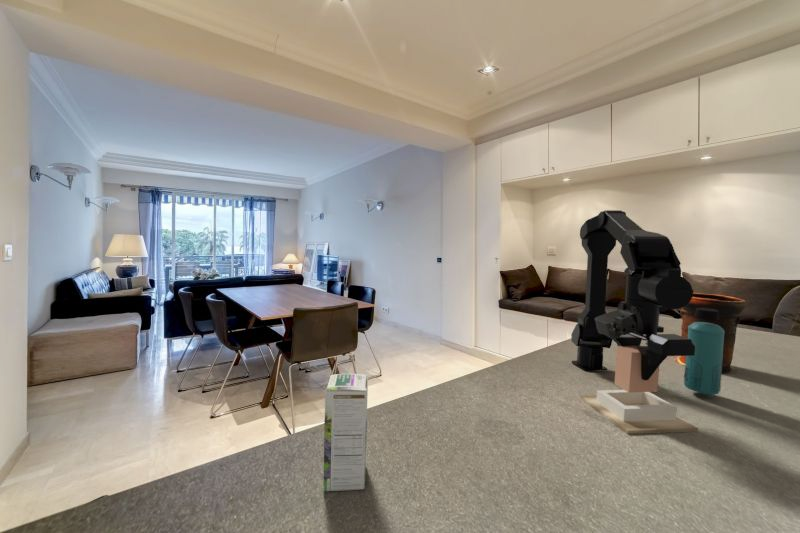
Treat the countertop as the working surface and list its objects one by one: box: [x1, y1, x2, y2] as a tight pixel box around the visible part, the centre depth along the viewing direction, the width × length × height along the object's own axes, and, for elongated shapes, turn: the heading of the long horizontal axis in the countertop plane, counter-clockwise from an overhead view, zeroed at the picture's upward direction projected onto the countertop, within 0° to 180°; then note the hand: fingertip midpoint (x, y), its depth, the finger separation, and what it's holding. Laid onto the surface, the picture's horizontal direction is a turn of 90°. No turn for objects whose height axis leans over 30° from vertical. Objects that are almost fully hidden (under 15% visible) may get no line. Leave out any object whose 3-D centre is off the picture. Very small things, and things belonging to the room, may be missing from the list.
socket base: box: [580, 394, 699, 435], centre depth 71 cm, size 14×14×1 cm
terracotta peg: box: [613, 345, 660, 393], centre depth 70 cm, size 6×4×8 cm, turn 95°
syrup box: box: [323, 373, 369, 492], centre depth 50 cm, size 6×6×14 cm
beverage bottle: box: [683, 308, 725, 396], centre depth 79 cm, size 6×7×20 cm
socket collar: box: [596, 389, 678, 422], centre depth 70 cm, size 8×11×2 cm
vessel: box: [674, 292, 747, 374], centre depth 99 cm, size 14×14×20 cm
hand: (636, 375), depth 70 cm, fingers closed on terracotta peg, 4 cm apart
